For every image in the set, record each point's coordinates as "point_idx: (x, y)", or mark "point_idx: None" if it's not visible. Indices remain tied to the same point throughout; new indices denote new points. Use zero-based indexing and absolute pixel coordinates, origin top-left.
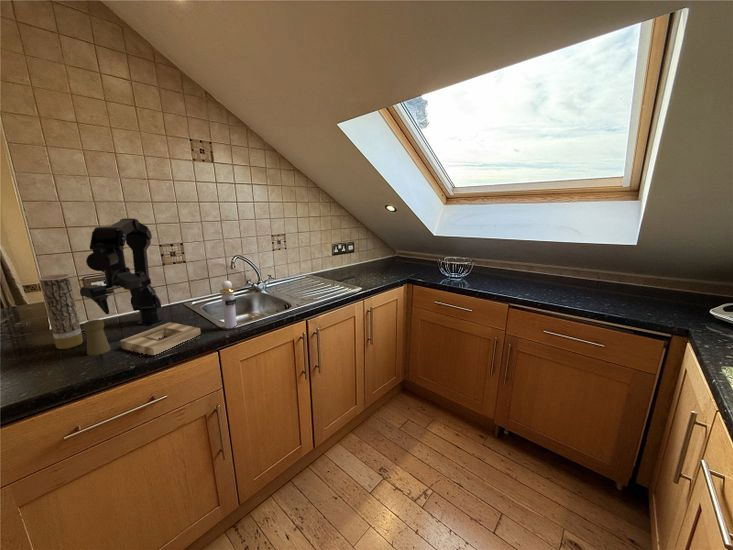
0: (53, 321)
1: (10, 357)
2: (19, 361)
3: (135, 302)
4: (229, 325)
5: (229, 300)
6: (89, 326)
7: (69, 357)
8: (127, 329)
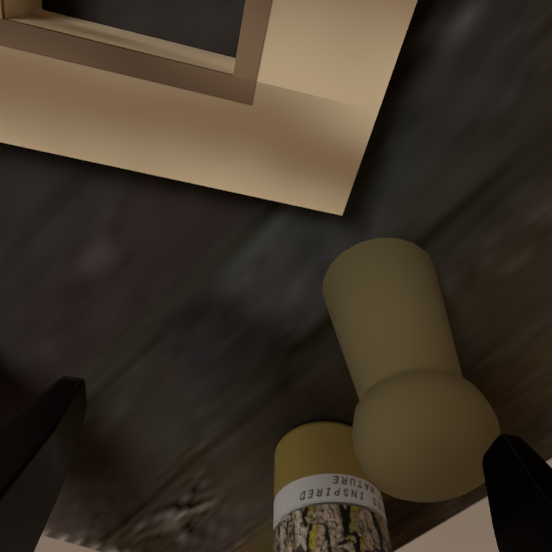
0: None
1: (437, 518)
2: None
3: (62, 439)
4: None
5: None
6: (500, 434)
7: None
8: (80, 374)
